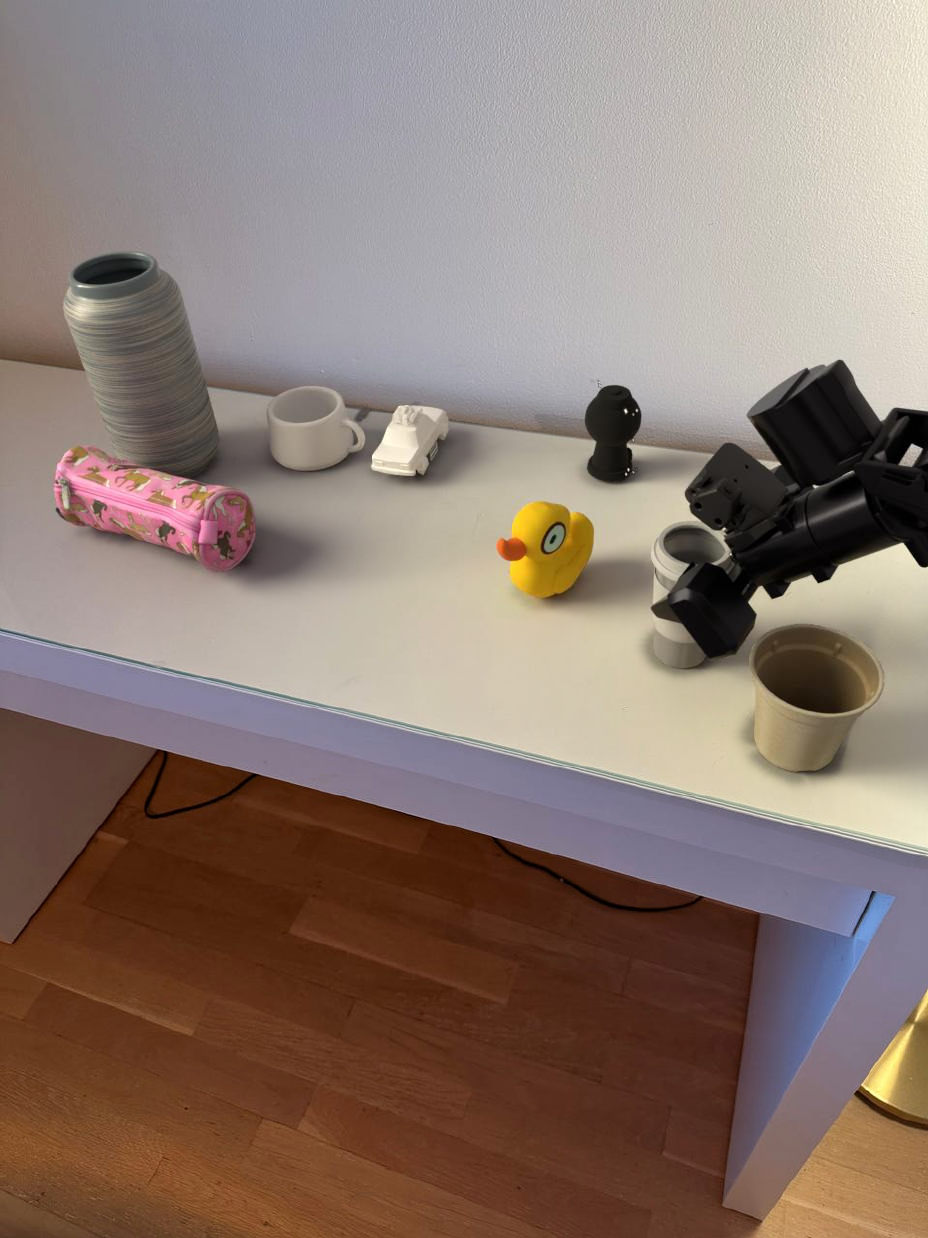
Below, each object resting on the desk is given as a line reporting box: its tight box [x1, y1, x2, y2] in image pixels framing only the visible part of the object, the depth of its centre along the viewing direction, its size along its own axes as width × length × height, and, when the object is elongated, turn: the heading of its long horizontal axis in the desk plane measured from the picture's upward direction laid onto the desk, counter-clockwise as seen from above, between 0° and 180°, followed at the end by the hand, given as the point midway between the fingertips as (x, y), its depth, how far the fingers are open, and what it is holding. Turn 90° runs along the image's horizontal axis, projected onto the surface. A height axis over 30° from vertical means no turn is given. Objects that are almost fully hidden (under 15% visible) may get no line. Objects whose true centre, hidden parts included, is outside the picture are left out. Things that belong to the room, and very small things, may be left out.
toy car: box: [370, 404, 450, 477], centre depth 103 cm, size 6×12×7 cm, turn 162°
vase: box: [62, 250, 220, 479], centre depth 100 cm, size 12×12×23 cm
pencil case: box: [53, 445, 257, 573], centre depth 94 cm, size 21×9×9 cm, turn 63°
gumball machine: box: [584, 379, 643, 482], centre depth 98 cm, size 7×6×10 cm
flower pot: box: [748, 623, 885, 773], centre depth 71 cm, size 9×9×9 cm
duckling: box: [496, 500, 595, 599], centre depth 85 cm, size 11×5×10 cm, turn 131°
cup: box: [650, 520, 735, 670], centre depth 78 cm, size 7×7×12 cm
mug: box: [266, 385, 366, 472], centre depth 106 cm, size 12×10×6 cm
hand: (672, 588), depth 78 cm, fingers closed on cup, 6 cm apart
